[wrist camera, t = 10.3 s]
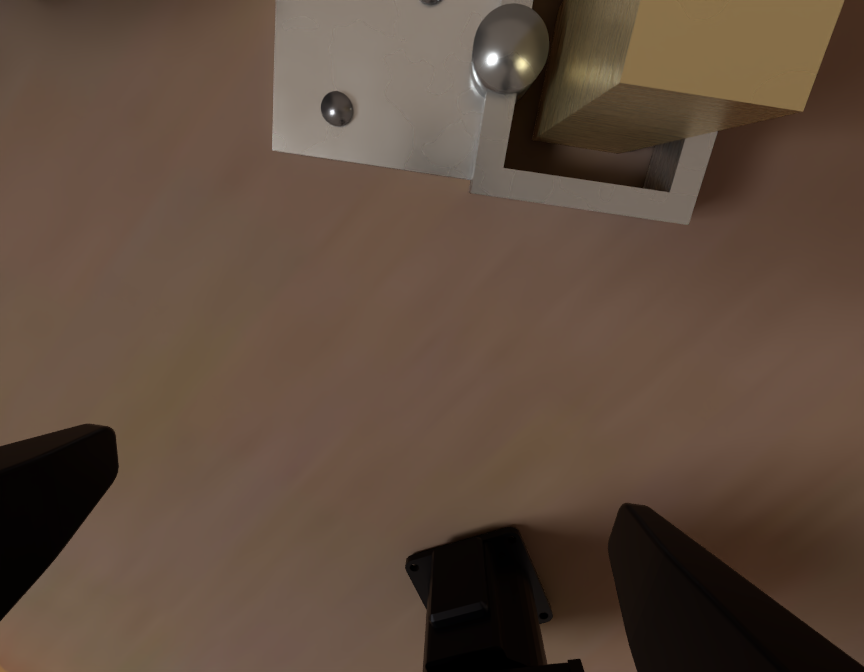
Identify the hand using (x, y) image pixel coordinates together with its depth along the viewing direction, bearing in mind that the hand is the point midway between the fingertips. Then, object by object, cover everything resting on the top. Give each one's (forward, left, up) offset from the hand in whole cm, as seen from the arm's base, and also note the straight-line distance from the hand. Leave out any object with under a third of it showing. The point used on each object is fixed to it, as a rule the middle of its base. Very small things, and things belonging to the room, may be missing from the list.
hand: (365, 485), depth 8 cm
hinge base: (+7, -6, -13) cm, 16 cm away
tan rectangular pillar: (+6, -9, -13) cm, 17 cm away
